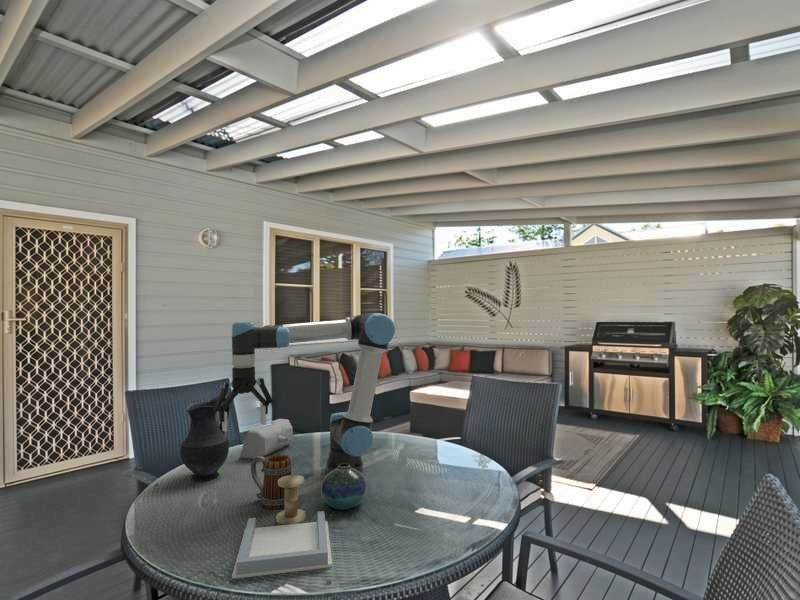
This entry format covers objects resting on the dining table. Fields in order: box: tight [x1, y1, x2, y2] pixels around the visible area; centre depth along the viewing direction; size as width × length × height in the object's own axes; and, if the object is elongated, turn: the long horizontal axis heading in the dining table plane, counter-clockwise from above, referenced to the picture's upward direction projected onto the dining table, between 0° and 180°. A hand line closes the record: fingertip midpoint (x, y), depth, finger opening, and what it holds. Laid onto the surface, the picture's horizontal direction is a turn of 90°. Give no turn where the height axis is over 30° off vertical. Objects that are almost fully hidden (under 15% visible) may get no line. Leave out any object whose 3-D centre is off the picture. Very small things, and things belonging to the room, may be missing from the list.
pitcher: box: [180, 395, 231, 482], centre depth 180 cm, size 17×21×30 cm
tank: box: [239, 418, 294, 460], centre depth 210 cm, size 25×16×12 cm, turn 161°
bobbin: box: [275, 474, 307, 525], centre depth 142 cm, size 9×9×12 cm
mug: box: [250, 454, 293, 510], centre depth 155 cm, size 16×11×15 cm
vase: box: [320, 463, 368, 511], centre depth 152 cm, size 15×15×13 cm
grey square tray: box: [231, 510, 333, 580], centre depth 125 cm, size 24×24×4 cm
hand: (244, 427), depth 159 cm, fingers open, 13 cm apart
